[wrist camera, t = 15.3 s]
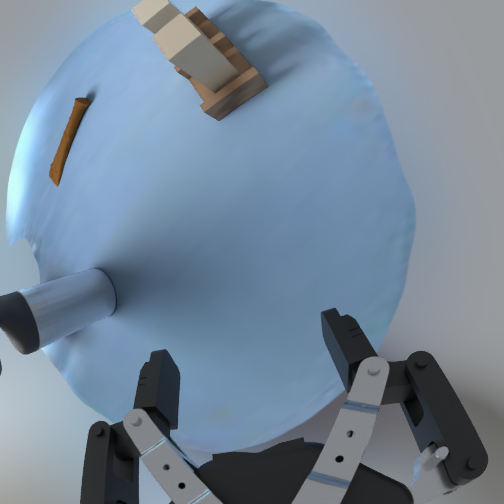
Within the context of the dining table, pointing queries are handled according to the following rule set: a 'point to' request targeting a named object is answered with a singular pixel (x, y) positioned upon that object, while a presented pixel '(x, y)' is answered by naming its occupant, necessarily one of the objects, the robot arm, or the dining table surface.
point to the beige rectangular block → (195, 54)
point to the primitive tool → (67, 139)
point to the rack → (235, 90)
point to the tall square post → (157, 14)
